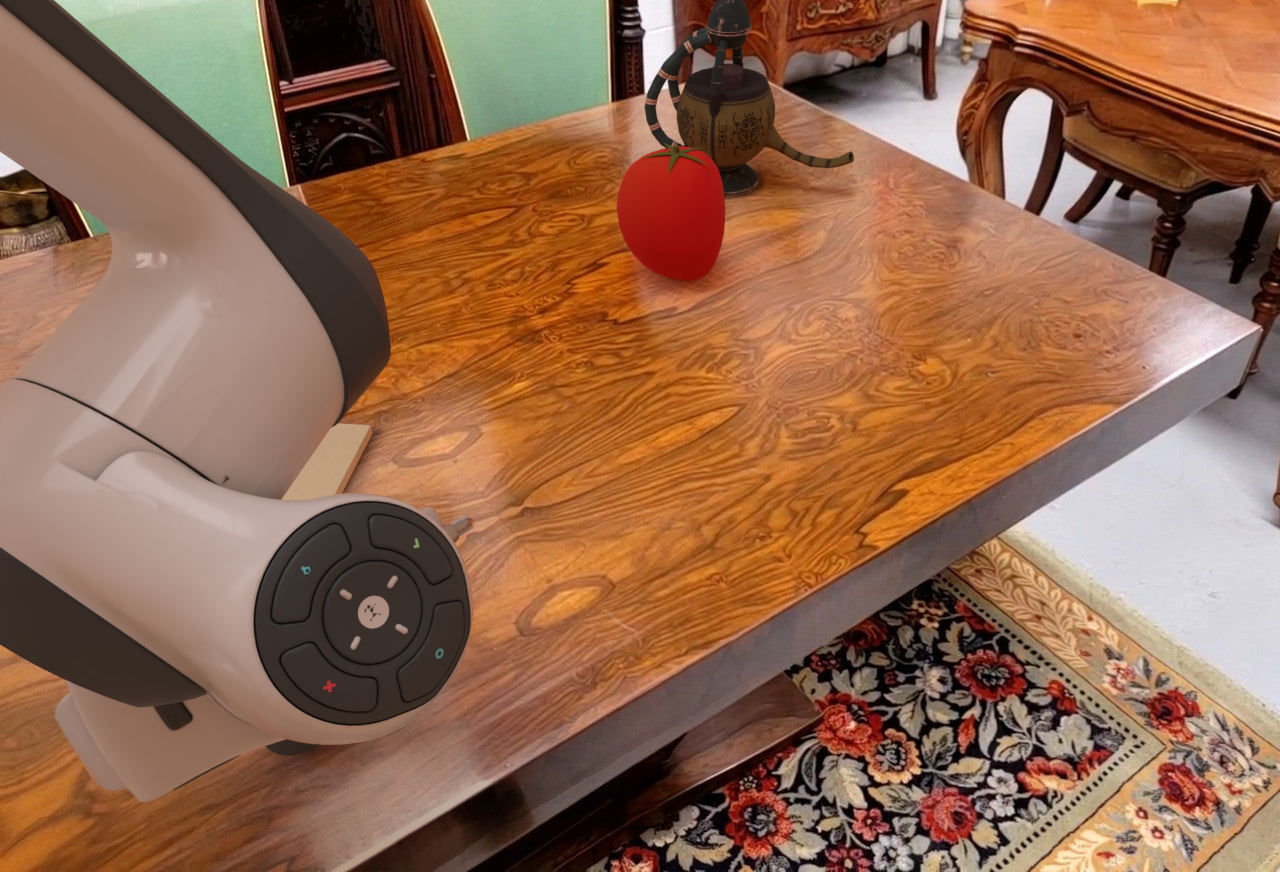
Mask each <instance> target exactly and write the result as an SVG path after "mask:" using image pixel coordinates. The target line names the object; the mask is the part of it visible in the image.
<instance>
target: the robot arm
mask: <svg viewBox="0 0 1280 872" xmlns="http://www.w3.org/2000/svg"><path fill="white" fill-rule="evenodd" d="M0 153H1V154H3V155H4V156H6V157H7V158H8V159H10V160H12V162H14V163H16V164H17V165H19V166H20V167H22V169H24V170H26V171H27V172H29V173H30V174H31V175H32V176H34V177H36V178H38V179H39V180H40V181H42V182H43V183H45V184H46V185H48V186H49V187H50V188H52V189H54V190H55V191H57V192H58V193H59V194H61V195H62V196H64V197H65V198H66V199H68V200H69V201H71V202H72V203H74V204H75V205H77V206H78V207H79V208H81V209H83V211H86V212H87V213H88V214H90V215H91V216H92V217H94V218H95V219H96V220H98V221H100V223H102V225H104V227H105V229H106V230H107V232H108V234H109V238H110V243H111V253H110V259H109V263H108V266H107V268H106V270H105V272H104V274H103V276H102V277H101V278H100V280H99V281H97V283H96V284H95V285H94V287H92V289H90V291H89V292H88V293H87V294H86V295H85V297H83V298H82V300H81V301H80V302H79V303H78V304H77V305H76V307H74V308H73V310H72V311H71V312H70V313H69V314H68V315H67V317H65V319H64V320H63V321H62V322H61V323H60V325H58V327H56V328H55V330H54V331H53V332H52V333H51V334H50V336H49V337H47V339H46V340H45V341H44V342H43V343H42V344H41V345H40V347H39V348H38V349H36V351H35V352H34V353H33V354H32V356H31V357H30V358H29V359H28V360H27V361H26V362H25V363H24V365H22V367H21V368H20V369H19V370H17V372H16V373H15V374H14V376H13V377H12V378H10V379H9V378H8V379H6V381H4V383H3V384H2V385H1V386H0V646H2V647H3V648H5V649H6V650H8V651H10V652H11V653H13V654H15V655H16V656H18V657H20V658H21V659H24V660H25V661H27V662H29V663H30V664H33V665H34V666H37V667H38V668H40V669H42V670H44V671H45V672H48V673H50V674H52V675H53V676H55V677H58V678H60V679H63V680H64V681H65V684H66V686H67V689H68V693H66V694H65V696H63V697H62V698H61V699H60V700H59V702H58V703H57V705H56V708H55V710H54V719H55V721H56V723H57V725H58V726H59V728H60V730H61V732H62V733H63V735H64V736H65V738H66V740H67V742H68V744H69V745H70V747H71V748H72V750H73V752H74V753H75V755H76V756H77V758H78V760H79V761H80V763H81V764H82V766H83V767H84V769H85V770H86V772H87V773H88V775H89V776H90V778H91V780H92V781H93V782H94V783H95V785H97V786H98V787H100V788H101V789H103V790H106V791H110V792H120V791H125V790H128V791H129V792H130V793H131V794H132V796H133V797H134V798H135V799H136V800H137V801H138V802H139V803H151V802H153V801H156V800H158V799H159V798H161V797H163V796H165V795H166V794H169V793H170V792H171V791H175V790H178V789H180V788H182V787H184V786H186V785H187V784H189V783H192V782H193V781H195V780H196V779H198V778H200V777H202V776H203V775H206V774H207V773H210V772H212V771H213V770H215V769H217V768H219V767H221V766H223V765H226V764H227V763H230V762H231V761H234V760H235V759H237V758H239V757H240V756H242V755H243V754H246V753H249V752H252V751H254V750H257V749H261V748H264V747H266V746H267V745H270V744H273V743H276V742H279V741H283V740H286V739H288V740H292V741H296V742H302V743H308V744H321V745H323V746H324V745H325V746H332V745H348V744H349V745H350V744H357V743H362V742H368V741H371V740H375V739H378V738H381V737H385V736H387V735H390V734H391V733H393V732H396V731H397V730H400V729H402V728H403V727H404V726H406V725H408V724H409V723H411V722H412V721H414V720H415V719H416V718H418V717H419V716H420V715H421V714H423V713H424V712H425V711H426V710H427V709H428V708H430V706H432V705H433V704H434V703H435V702H436V701H437V700H438V699H439V698H440V696H442V694H443V693H444V692H445V691H446V689H447V688H448V687H449V685H450V684H451V683H452V681H453V679H454V678H455V677H456V674H457V673H458V671H459V669H460V667H461V665H462V662H463V661H464V659H465V656H466V653H467V649H468V646H469V643H470V640H471V639H470V638H471V635H472V629H473V620H474V596H473V588H472V583H471V579H470V575H469V572H468V568H467V565H466V564H465V561H464V558H463V556H462V553H461V552H460V549H459V548H458V546H457V544H456V543H458V541H459V540H460V537H461V536H463V535H465V534H466V533H468V532H469V531H472V530H473V529H474V527H475V525H474V524H473V521H474V520H473V518H471V517H469V515H468V514H464V515H461V516H459V517H456V518H455V519H453V520H451V521H449V522H447V523H444V522H443V520H442V519H441V516H440V514H439V513H438V512H437V510H436V508H434V507H433V506H426V507H423V508H418V507H416V506H414V505H412V504H411V503H408V502H405V501H403V500H400V499H398V498H394V497H391V496H386V495H380V494H374V493H366V492H343V493H342V494H335V495H328V496H323V497H319V498H314V499H308V500H281V499H282V498H283V497H284V495H285V494H286V492H287V491H288V489H289V488H290V486H291V485H292V484H293V482H294V481H295V479H296V478H297V476H298V475H299V473H300V472H301V471H302V469H303V468H304V466H305V465H306V463H307V462H308V460H309V459H310V458H311V456H312V455H313V453H314V452H315V450H316V449H317V447H318V446H319V445H320V443H321V442H322V440H323V439H324V437H325V436H326V434H327V433H328V432H329V430H330V429H331V428H332V427H334V426H335V425H337V424H338V423H341V421H342V419H344V417H345V416H347V414H348V413H349V412H350V410H351V409H352V408H353V406H354V405H355V404H356V403H357V402H358V401H359V399H360V398H362V396H363V394H364V393H365V392H366V391H367V390H368V389H369V388H370V386H371V385H372V384H373V383H374V382H375V380H376V379H377V378H378V376H380V374H382V372H383V371H384V369H385V368H386V367H387V366H388V363H389V361H390V358H391V354H392V353H391V351H392V347H391V334H390V324H389V317H388V311H387V305H386V301H385V296H384V292H383V289H382V286H381V282H380V280H379V277H378V273H377V272H376V269H375V267H374V265H373V263H372V262H371V261H370V259H369V258H368V257H367V255H366V254H365V253H364V251H362V250H361V249H360V247H359V246H358V245H356V243H355V242H354V241H352V240H351V238H349V237H348V236H347V235H346V234H344V233H343V232H342V231H341V230H340V229H339V228H338V227H336V226H335V225H334V224H333V223H331V222H330V221H329V220H328V219H326V218H324V217H323V216H322V215H321V214H319V213H318V212H316V211H315V210H313V208H311V207H309V206H308V205H307V204H305V203H304V202H302V201H301V200H299V199H298V198H297V197H295V196H294V195H292V194H291V193H290V192H288V191H286V190H285V189H284V188H282V187H281V186H279V185H277V184H276V183H275V182H273V181H271V180H270V179H268V178H267V177H266V176H264V175H263V174H261V172H259V171H257V170H255V169H254V168H253V167H251V166H250V165H248V164H247V163H246V162H245V161H243V160H241V158H239V157H237V156H236V154H234V153H233V152H231V150H229V149H228V148H227V147H226V146H224V144H222V143H221V142H220V141H218V140H217V139H216V138H215V137H213V136H212V135H211V134H210V133H209V132H208V131H206V130H205V129H204V128H203V127H202V126H200V124H198V123H197V122H196V121H195V120H194V119H193V118H192V117H191V116H189V115H188V114H187V113H186V112H185V111H183V110H182V109H181V108H180V107H179V106H178V105H177V104H175V103H174V102H173V101H172V100H171V99H169V98H168V97H167V96H166V95H165V94H163V92H161V91H160V90H159V89H158V88H156V86H154V85H153V84H152V83H150V82H149V80H147V79H146V78H145V77H144V76H143V75H141V74H140V73H139V72H138V71H137V70H136V69H134V68H133V67H132V66H131V65H130V64H129V63H127V61H125V60H124V59H123V58H122V57H120V56H119V55H118V54H117V53H116V52H115V51H113V50H112V49H111V48H110V47H109V46H108V45H107V44H105V42H103V41H102V40H101V39H100V38H99V37H98V36H96V35H95V34H94V33H93V32H91V31H90V30H89V29H88V28H87V27H86V26H85V25H84V24H82V22H80V21H79V20H78V19H77V18H76V17H74V16H73V15H72V14H71V13H70V12H69V11H68V10H66V9H65V8H64V7H63V6H62V5H61V4H59V3H58V2H57V1H56V0H0Z"/></svg>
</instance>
